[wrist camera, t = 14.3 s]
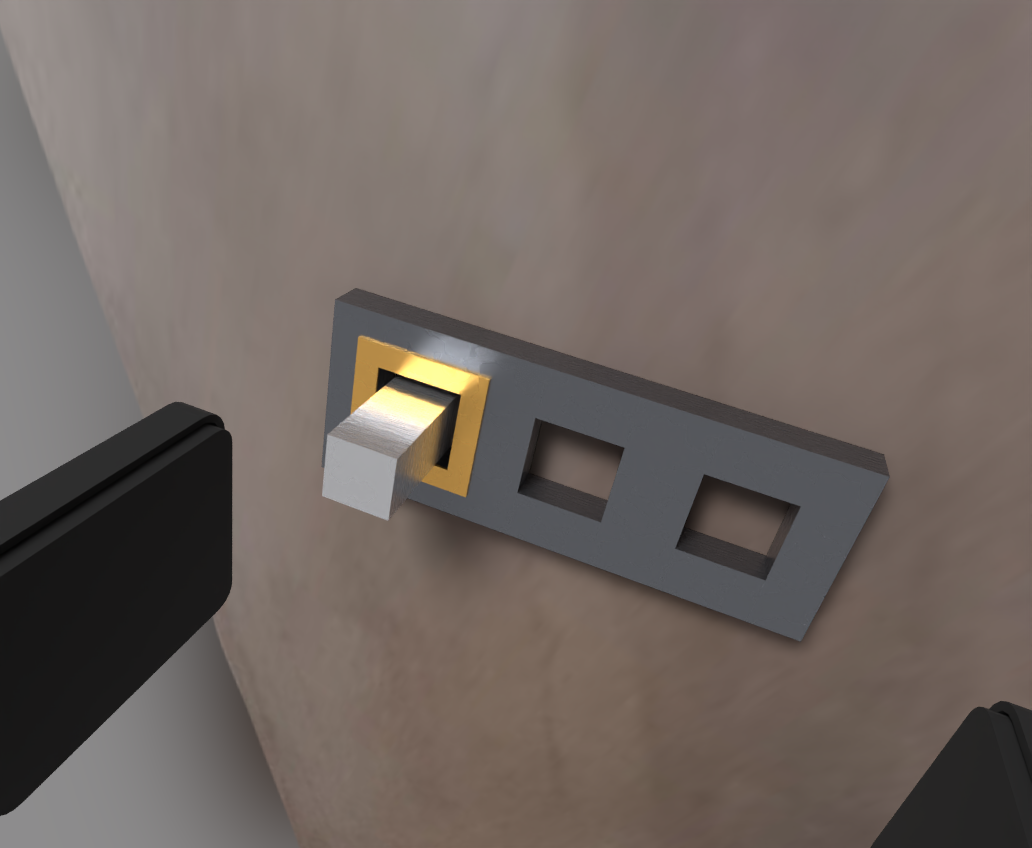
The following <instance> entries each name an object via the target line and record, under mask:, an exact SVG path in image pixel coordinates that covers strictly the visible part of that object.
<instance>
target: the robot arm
mask: <svg viewBox="0 0 1032 848" xmlns="http://www.w3.org/2000/svg"><path fill="white" fill-rule="evenodd" d="M231 586H232V436H231V434H230V433H229V432H228V431H227V430H225V428H224V423H223V421H222V419H221V418H220V417H219V416H217V415H216V414H213V413H210V412H207V411H205V410H202V409H199V408H196V407H194V406H191V405H188V404H185V403H183V402H174V403H171V404H169V405H167V406H165V407H163V408H162V409H160V410H158V411H156V412H155V413H153V414H151V415H149V416H148V417H146V418H144V419H142V420H141V421H139V422H138V423H135V424H134V425H132V426H130V427H128V428H127V429H125V430H123V431H121V432H120V433H118V434H116V435H114V436H113V437H111V438H109V439H107V440H106V441H104V442H102V443H100V444H99V445H97V446H95V447H93V448H92V449H90V450H88V451H86V452H85V453H83V454H81V455H79V456H78V457H76V458H74V459H72V460H71V461H69V462H67V463H65V464H64V465H62V466H60V467H58V468H57V469H55V470H53V471H51V472H50V473H48V474H46V475H45V476H43V477H41V478H39V479H37V480H36V481H34V482H32V483H30V484H29V485H27V486H25V487H23V488H22V489H20V490H18V491H16V492H15V493H13V494H11V495H9V496H8V497H6V498H4V499H2V500H1V501H0V816H1V815H5V814H7V813H9V812H11V811H13V810H14V809H15V808H16V807H18V806H19V805H20V804H21V803H22V802H23V801H24V800H26V798H28V796H30V795H31V794H32V793H33V791H35V790H36V788H38V787H39V786H40V785H41V784H42V783H43V782H44V781H45V780H46V779H47V778H48V777H49V776H50V775H51V774H52V773H53V772H54V771H55V770H56V769H57V768H58V767H59V766H60V765H61V764H62V763H63V762H64V761H65V760H66V759H67V758H68V757H69V756H70V755H71V754H72V753H73V752H74V751H75V750H76V749H77V748H78V747H79V746H80V745H82V744H83V742H84V741H86V740H87V739H88V738H89V737H90V736H91V735H92V734H93V733H94V732H95V731H96V730H97V729H98V728H99V727H100V726H101V725H102V724H103V723H104V722H105V721H106V720H107V719H108V718H109V717H110V716H111V715H112V714H113V713H114V712H115V711H116V710H117V709H118V708H119V707H120V706H121V705H122V704H123V703H124V702H125V701H126V700H127V699H128V698H129V697H130V696H132V695H133V694H134V692H136V690H138V689H139V688H140V687H141V686H142V685H143V684H144V683H145V682H146V681H147V680H148V679H149V678H150V677H151V676H152V675H153V674H154V673H155V672H156V671H157V670H158V669H159V668H160V667H161V666H162V665H163V664H164V663H165V662H166V661H167V660H168V659H169V658H170V657H171V656H172V655H173V654H174V653H175V652H176V651H177V650H178V649H179V648H180V647H181V646H182V645H183V644H184V643H185V642H187V641H188V640H189V639H190V637H192V635H194V634H195V633H196V632H197V630H199V629H200V628H201V627H202V625H204V624H205V623H206V622H207V621H208V620H209V619H210V618H211V617H212V616H213V615H214V614H215V613H216V612H217V611H218V610H219V609H220V608H221V607H222V605H223V604H224V602H225V601H226V599H227V597H228V595H229V593H230V590H231ZM871 848H1032V710H1029V709H1026V708H1023V707H1021V706H1018V705H1015V704H1012V703H1009V702H1005V701H1000V702H998V703H996V704H994V705H993V706H992V707H991V708H990V709H987V708H984V707H977V708H975V709H973V710H972V711H971V712H970V713H969V715H968V716H967V717H966V719H965V720H964V721H963V723H962V724H961V725H960V727H959V728H958V729H957V731H956V732H955V734H954V735H953V736H952V738H951V739H950V740H949V742H948V743H947V744H946V746H945V747H944V748H943V750H942V751H941V752H940V754H939V755H938V756H937V758H936V759H935V761H934V762H933V763H932V765H931V766H930V767H929V769H928V770H927V771H926V773H925V774H924V775H923V777H922V778H921V779H920V781H919V782H918V783H917V785H916V786H915V788H914V789H913V790H912V792H911V793H910V794H909V796H908V797H907V798H906V800H905V801H904V802H903V804H902V805H901V806H900V808H899V809H898V810H897V812H896V813H895V815H894V816H893V817H892V819H891V820H890V821H889V823H888V824H887V825H886V827H885V828H884V829H883V831H882V832H881V833H880V835H879V836H878V837H877V839H876V840H875V842H874V843H873V845H872V846H871Z"/></svg>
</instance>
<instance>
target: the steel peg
mask: <svg viewBox="0 0 1032 848" xmlns="http://www.w3.org/2000/svg"><path fill="white" fill-rule="evenodd" d="M460 398H461V395H460V394H457V393H454V392H451V391H448V390H445V389H442V388H439V387H436V386H433V385H430V384H427V383H424V382H421V381H418V380H415V379H412V378H409V377H406V376H403V375H400V374H398V375H397V376H396V377H395V378H394V379H392V380H391V381H390V382H389V383H388V384H386V385H385V386H384V387H383V388H382V389H381V390H379V391H378V392H377V393H376V394H375V395H373V396H372V397H371V398H370V399H369V400H368V401H366V402H365V403H364V404H363V405H362V406H360V407H359V408H358V409H357V410H356V411H355V412H353V413H352V414H351V415H350V416H349V417H347V418H346V419H345V420H344V421H343V422H341V423H340V424H339V425H338V426H337V427H336V428H334V429H333V430H332V431H331V432H330V433H328V434H327V446H326V457H325V469H324V481H323V492H322V496H324V497H326V498H329V499H332V500H334V501H337V502H340V503H342V504H345V505H348V506H350V507H353V508H356V509H358V510H361V511H364V512H366V513H369V514H372V515H374V516H377V517H380V518H382V519H385V520H389V519H390V518H391V517H392V516H393V514H394V513H395V512H396V511H397V510H398V508H399V507H400V506H401V505H402V504H403V503H404V501H405V500H406V499H407V498H408V497H409V495H410V494H411V493H412V492H413V491H414V489H415V488H416V487H417V486H418V485H419V483H420V482H421V481H422V480H423V479H424V477H425V476H426V475H427V474H428V473H429V471H430V470H431V469H432V468H433V467H434V465H435V464H436V463H437V462H438V461H439V460H440V458H441V457H442V456H443V455H444V454H445V452H446V451H447V450H448V449H449V448H450V446H451V445H452V442H453V437H454V431H455V426H456V420H457V415H458V409H459V404H460Z"/></svg>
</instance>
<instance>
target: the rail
mask: <svg viewBox="0 0 1032 848" xmlns="http://www.w3.org/2000/svg"><path fill="white" fill-rule="evenodd" d="M395 373H397V374H400V375H403V376H406V377H409V378H412V379H415V380H418V381H421V382H424V383H427V384H430V385H433V386H436V387H439V388H442V389H445V390H448V391H451V392H454V393H457V394H460V395H461V398H460V404H459V409H458V415H457V420H456V426H455V431H454V437H453V442H452V446H450V448H449V449H448V450H447V451H446V452H445V454H444V455H443V456H442V457H441V458H440V460H439V461H438V462H437V463H436V464H435V465H434V467H433V468H432V469H431V470H430V471H429V473H428V474H427V475H426V476H425V477H424V479H423V480H422V481H421V482H420V483H419V485H418V486H417V487H416V488H415V489H414V491H413V492H412V493H411V494H410V495H409V497H408V499H411V500H414V501H417V502H419V503H422V504H425V505H428V506H430V507H433V508H436V509H439V510H441V511H444V512H447V513H450V514H452V515H455V516H458V517H461V518H463V519H466V520H469V521H471V522H474V523H477V524H480V525H482V526H485V527H488V528H491V529H493V530H496V531H499V532H502V533H504V534H507V535H510V536H513V537H515V538H518V539H521V540H524V541H526V542H529V543H532V544H535V545H537V546H540V547H543V548H545V549H548V550H551V551H554V552H556V553H559V554H562V555H565V556H567V557H570V558H573V559H576V560H578V561H581V562H584V563H587V564H589V565H592V566H595V567H598V568H600V569H603V570H606V571H609V572H611V573H614V574H617V575H620V576H622V577H625V578H628V579H630V580H633V581H636V582H639V583H641V584H644V585H647V586H650V587H652V588H655V589H658V590H661V591H663V592H666V593H669V594H672V595H674V596H677V597H680V598H683V599H685V600H688V601H691V602H694V603H696V604H699V605H702V606H704V607H707V608H710V609H713V610H715V611H718V612H721V613H724V614H726V615H729V616H732V617H735V618H737V619H740V620H743V621H746V622H748V623H751V624H754V625H757V626H759V627H762V628H765V629H768V630H770V631H773V632H776V633H778V634H781V635H784V636H787V637H789V638H792V639H795V640H798V641H800V642H801V640H802V638H803V636H804V635H805V633H806V631H807V629H808V627H809V625H810V624H811V622H812V620H813V618H814V616H815V614H816V612H817V611H818V609H819V607H820V605H821V603H822V601H823V599H824V598H825V596H826V594H827V592H828V590H829V588H830V586H831V585H832V583H833V581H834V579H835V577H836V575H837V573H838V572H839V570H840V568H841V566H842V564H843V562H844V561H845V559H846V557H847V555H848V553H849V551H850V549H851V548H852V546H853V544H854V542H855V540H856V538H857V536H858V535H859V533H860V531H861V529H862V527H863V525H864V523H865V522H866V520H867V518H868V516H869V514H870V512H871V510H872V509H873V507H874V505H875V503H876V501H877V499H878V498H879V496H880V494H881V492H882V490H883V488H884V486H885V485H886V483H887V481H888V479H889V473H888V469H887V465H886V461H885V457H884V454H880V453H877V452H874V451H871V450H868V449H865V448H861V447H858V446H855V445H852V444H849V443H846V442H842V441H839V440H836V439H833V438H830V437H827V436H823V435H820V434H817V433H814V432H811V431H808V430H804V429H801V428H798V427H795V426H792V425H788V424H785V423H782V422H779V421H776V420H773V419H769V418H766V417H763V416H760V415H757V414H754V413H750V412H747V411H744V410H741V409H738V408H735V407H731V406H728V405H725V404H722V403H719V402H716V401H712V400H709V399H706V398H703V397H700V396H696V395H693V394H690V393H687V392H684V391H681V390H677V389H674V388H671V387H668V386H665V385H662V384H658V383H655V382H652V381H649V380H646V379H643V378H639V377H636V376H633V375H630V374H627V373H624V372H620V371H617V370H614V369H611V368H608V367H604V366H601V365H598V364H595V363H592V362H589V361H585V360H582V359H579V358H576V357H573V356H570V355H566V354H563V353H560V352H557V351H554V350H551V349H547V348H544V347H541V346H538V345H535V344H532V343H528V342H525V341H522V340H519V339H516V338H512V337H509V336H506V335H503V334H500V333H497V332H493V331H490V330H487V329H484V328H481V327H478V326H474V325H471V324H468V323H465V322H462V321H459V320H455V319H452V318H449V317H446V316H443V315H440V314H436V313H433V312H430V311H427V310H424V309H420V308H417V307H414V306H411V305H408V304H405V303H401V302H398V301H395V300H392V299H389V298H386V297H382V296H379V295H376V294H373V293H370V292H367V291H363V290H360V289H357V288H355V289H353V290H351V291H350V292H348V293H346V294H344V295H343V296H341V297H339V298H337V299H335V308H334V321H333V333H332V345H331V358H330V370H329V382H328V395H327V407H326V420H325V432H324V444H323V457H322V467H323V468H325V457H326V446H327V434H328V433H330V432H331V431H332V430H333V429H334V428H336V427H337V426H338V425H339V424H340V423H341V422H343V421H344V420H345V419H346V418H347V417H349V416H350V415H351V414H352V413H353V412H355V411H356V410H357V409H358V408H359V407H360V406H362V405H363V404H364V403H365V402H366V401H368V400H369V399H370V398H371V397H372V396H373V395H375V394H376V393H377V392H378V391H379V390H381V389H382V388H383V387H384V386H385V385H386V384H388V383H389V382H390V381H391V380H392V379H394V378H395ZM542 420H543V421H546V422H549V423H552V424H555V425H558V426H561V427H564V428H567V429H570V430H573V431H576V432H579V433H582V434H585V435H588V436H591V437H594V438H597V439H600V440H603V441H606V442H609V443H612V444H615V445H618V446H621V447H624V448H625V449H624V452H623V455H622V458H621V461H620V464H619V467H618V470H617V474H616V477H615V480H614V483H613V486H612V489H611V492H610V496H609V499H608V501H607V500H604V499H601V498H599V497H596V496H593V495H590V494H587V493H584V492H581V491H578V490H576V489H573V488H570V487H567V486H564V485H561V484H558V483H555V482H553V481H550V480H547V479H544V478H541V477H538V476H535V475H532V474H530V473H529V471H530V467H531V463H532V459H533V455H534V451H535V447H536V443H537V439H538V435H539V431H540V427H541V423H542ZM704 474H705V475H708V476H711V477H714V478H717V479H720V480H723V481H726V482H729V483H732V484H735V485H738V486H741V487H744V488H747V489H750V490H753V491H756V492H759V493H762V494H765V495H768V496H771V497H774V498H777V499H780V500H783V501H786V502H789V503H791V504H790V506H789V508H788V511H787V513H786V515H785V517H784V519H783V521H782V523H781V525H780V528H779V530H778V532H777V534H776V536H775V538H774V540H773V542H772V545H771V547H770V549H769V551H768V553H767V555H766V556H765V555H763V554H760V553H757V552H754V551H751V550H748V549H745V548H742V547H739V546H737V545H734V544H731V543H728V542H725V541H722V540H719V539H716V538H714V537H711V536H708V535H705V534H702V533H699V532H696V531H693V530H691V529H688V528H685V527H684V524H685V522H686V519H687V517H688V514H689V511H690V509H691V506H692V504H693V501H694V499H695V496H696V493H697V491H698V488H699V486H700V483H701V481H702V478H703V475H704Z"/></svg>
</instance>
